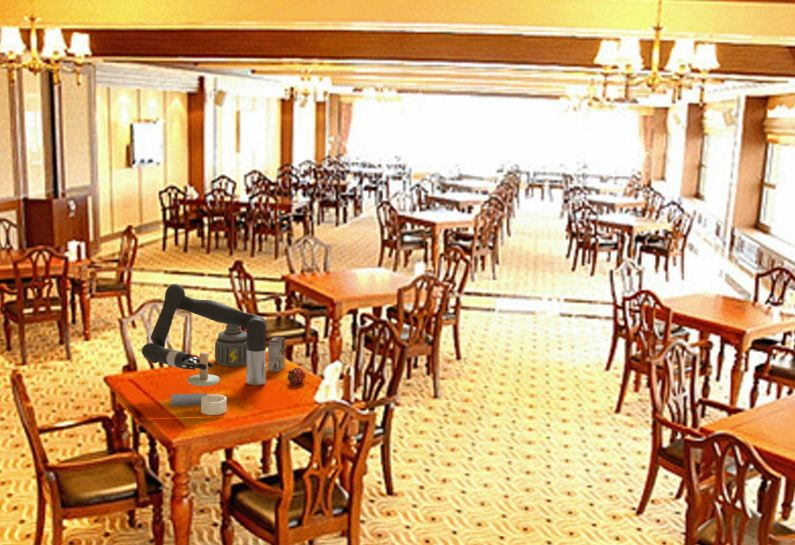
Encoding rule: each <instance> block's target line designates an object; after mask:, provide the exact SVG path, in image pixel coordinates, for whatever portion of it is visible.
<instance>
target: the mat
mask: <svg viewBox="0 0 795 545" xmlns="http://www.w3.org/2000/svg"><path fill="white" fill-rule="evenodd" d="M206 395H208V393H176V394H175V393H174V394H171V398H170V407H186V406H187V407H189V406H190V407H191V406H193V407H195V406H201V397H203V396H206Z"/></svg>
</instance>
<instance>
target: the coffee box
mask: <svg viewBox="0 0 795 545" xmlns="http://www.w3.org/2000/svg"><path fill="white" fill-rule="evenodd" d="M267 345H268V346H267V347H268V351H267V371H269V372H270V371H271V372H280V371H281V370H283V369H284V368H285V366H286V365H285V363H286V337H283V336H282V337H280V336H273V337H272V338H270V339H269V340H268V343H267Z"/></svg>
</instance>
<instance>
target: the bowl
mask: <svg viewBox="0 0 795 545" xmlns="http://www.w3.org/2000/svg"><path fill="white" fill-rule="evenodd" d="M227 404H228V403H227V396H225V395H222V394H207V395H206V396H203V397H201V405H200V412H201V413H202V414H204V415H207V416H213V415H214V416H217V415H222V414H224V413H226V412H227V408H228V407H227Z"/></svg>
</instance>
